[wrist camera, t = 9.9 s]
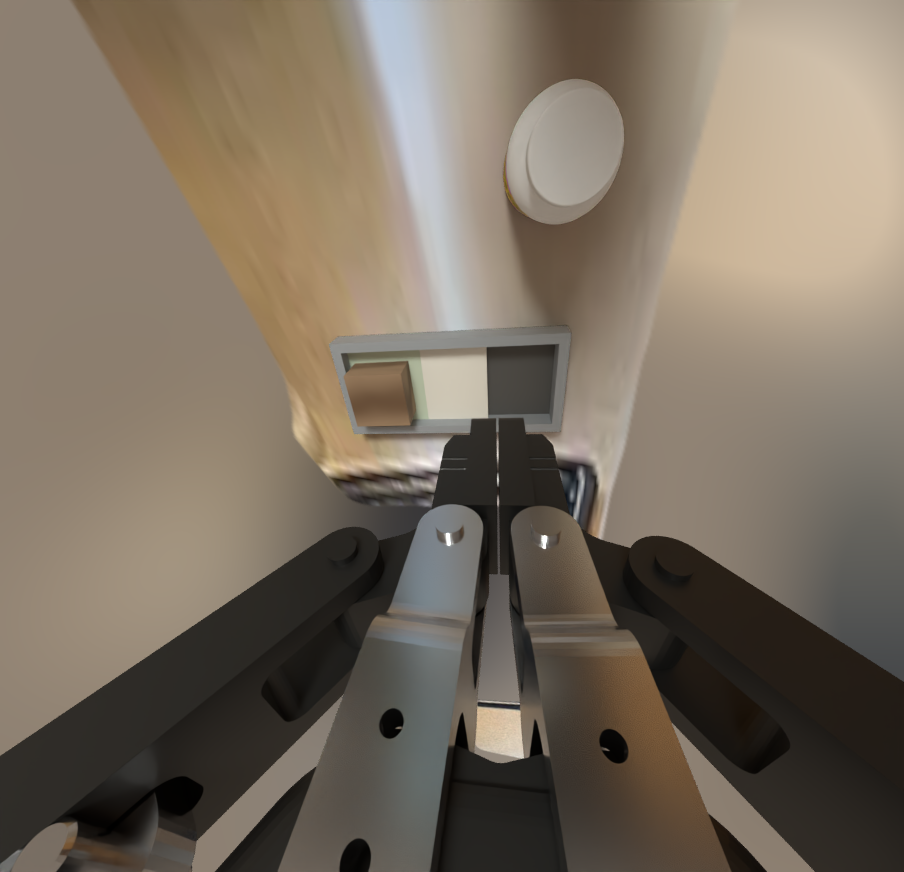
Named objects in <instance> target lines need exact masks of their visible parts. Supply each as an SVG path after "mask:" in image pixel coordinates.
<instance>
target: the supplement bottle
mask: <svg viewBox="0 0 904 872" xmlns="http://www.w3.org/2000/svg"><path fill="white" fill-rule="evenodd" d="M623 148H624V126H623V120H622V117H621V114H620V111H619V109H618V107H617V105H616V103H615V101H614V99H613V98H612V97H611V96H610V94H609V93H608V92H607V91H606V90H605V89H603V88H602V87H601V86H599V85H597V84H596V83H594V82H591V81H588V80H583V79H569V80H565V81H561V82H558V83H555V84H553V85H551V86H550V87H548V88H547V89H545V90H544V91H542V92H541V93H540V94H539V95H538V96H536V97H535V98H534V99H533V100H532V101H531V102H530V104H529V105H528V106H527V107H526V108H525V110H524V111H523V113H522V114H521V116H520V117H519V119H518V121H517V123H516V125H515V128H514V130H513V132H512V135H511V138H510V141H509V145H508V149H507V153H506V156H505V161H504V168H503V181H504V187H505V190H506V194H507V196H508V198H509V200H510V202H511V203H512V205H513V206H514V207H515V208H516V209H517V210H518V211H519V212H520V213H522V214H523V215H525V216H527V217H529V218H531V219H533V220H535V221H538V222H541V223H545V224H553V225H556V224H564V223H568V222H571V221H573V220H576V219H578V218H579V217H581V216H583V215H585V214H586V213H588V212H589V211H590V210H591V209H593V208H594V207H595V206H596V205H597V204H598V203H599V202H600V201H601V199H602V198H603V197H604V196H605V194H606V193H607V192H608V190H609V188H610V187H611V185H612V183H613V181H614V179H615V177H616V175H617V172H618V170H619V166H620V163H621V159H622V155H623Z"/></svg>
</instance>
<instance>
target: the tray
mask: <svg viewBox="0 0 904 872" xmlns="http://www.w3.org/2000/svg"><path fill="white" fill-rule="evenodd" d="M570 342H571V331H570V330H569V328H568V326H567V325H563V326H543V327H523V328H503V329H483V330H462V331H442V332H422V333H402V334H382V335H362V336H342V337H337V338H336V339H335V340H334V341H332V342H331V343H330V344H329V347H330V350H331V354H332V357H333V361H334V364H335V368H336V371H337V375H338V378H339V382H340V386H341V389H342V393H343V396H344V400H345V403H346V407H347V410H348V414H349V418H350V421H351V425H352V428H353V432H354V434H405V433H470V428H471V419H472V418H496V433H497V432H499V425H498V418H524V424H525V431H526V432H561V423H562V414H563V405H564V396H565V387H566V378H567V369H568V360H569V351H570ZM394 361H408V363H409V369H410V375H411V381H412V387H413V393H414V399H415V405H416V412H415V414H414V417H413V419H412V422H411V425H406V426H362V427H358V426H357V423H356V419H355V416H354V412H353V409H352V405H351V402H350V398H349V395H348V391H347V388H346V384H345V381H344V377H343V376H344V375H345V374H346V373H347V372H348V371H349V370H350V368H351V367H352V366H353V365H354V364H355V363H374V362H394Z"/></svg>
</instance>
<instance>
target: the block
mask: <svg viewBox="0 0 904 872" xmlns="http://www.w3.org/2000/svg"><path fill="white" fill-rule="evenodd" d="M343 377H344V381H345V384H346V388H347V391H348V395H349V398H350V402H351V405H352V409H353V412H354V416H355V419H356V423H357V426H358V427H362V426H406V425H411V422H412V419H413V417H414V414H415V412H416V405H415V399H414V393H413V387H412V381H411V375H410V369H409V363H408V361H394V362H374V363H355V364H354V365H353V366H352V367H351V368H350V370H349V371H348V372H347V373H346V374H345V375H344V376H343Z"/></svg>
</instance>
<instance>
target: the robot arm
mask: <svg viewBox="0 0 904 872" xmlns="http://www.w3.org/2000/svg"><path fill="white" fill-rule="evenodd" d="M498 425H499V513H500V514H499V515H500V516H499V517H500V574H505V575H509V590H510V594H509V609H510V618H511V626H512V635H513V644H514V653H515V661H516V670H517V679H518V688H519V697H520V711H521V729H522V741H523V751H524V759H520V760H516V761H512V762H508V763H495V762H492V761H489V760H487V759H485V758H483V757H481V756H479V755H477V754H475V753H474V751H475V740H476V726H477V700H478V687H479V677H480V667H481V657H482V647H483V637H484V627H485V617H486V604H487V599H488V595H489V574H497V573H498V570H497V569H498V568H497V567H498V566H497V442H496V418H472V419H471V428H470V435H454V436H453V437H452V438H451V439H450V440H449V441H448V443H447V444H446V445H445V447H444V452H443V456H442V461H441V466H440V471H439V475H438V480H437V485H436V490H435V495H434V499H433V504H432V509H431V510H430V511H429V512H428V513H426V514H425V515H424V516H423V517H422V519H421V520H420V522H419V524H418V526H417V528H416V529H414V530H412V531H410V532H408V533H406V534H403V535H399V536H396V537H391V538H387V539H384V540H379V541H378V540H377V538H376V536H375V535H374V534H373V533H372V532H371V531H369V530H367V529H365V528H360V527H348V528H343V529H340V530H337V531H335V532H332V533H331V534H329V535H327V536H326V537H324V538H323V539H321V540H320V541H318V542H317V543H316V544H314V545H312V546H311V547H309V548H308V549H307V550H305V551H303V552H302V553H301V554H299V555H298V556H296V557H295V558H293V559H292V560H290V561H289V562H287V563H286V564H284V565H283V566H281V567H280V568H278V569H277V570H275V571H274V572H272V573H271V574H269V575H268V576H266V577H265V578H263V579H262V580H260V581H259V582H257V583H256V584H255V585H253V586H252V587H250V588H249V589H247V590H246V591H244V592H243V593H241V594H240V595H238V596H237V597H235V598H234V599H232V600H231V601H229V602H228V603H226V604H225V605H223V606H222V607H220V608H219V609H218V610H216V611H215V612H213V613H212V614H210V615H209V616H207V617H206V618H204V619H203V620H201V621H200V622H198V623H197V624H195V625H194V626H192V627H191V628H189V629H188V630H186V631H185V632H183V633H182V634H181V635H179V636H177V637H176V638H175V639H173V640H171V641H170V642H169V643H167V644H166V645H164V646H163V647H161V648H160V649H158V650H157V651H155V652H154V653H152V654H151V655H150V656H148V657H146V658H145V659H143V660H142V661H140V662H139V663H137V664H136V665H134V666H133V667H131V668H130V669H128V670H127V671H126V672H124V673H123V674H121V675H120V676H118V677H117V678H115V679H114V680H112V681H111V682H109V683H108V684H106V685H105V686H103V687H102V688H100V689H99V690H97V691H96V692H94V693H93V694H91V695H90V696H89V697H87V698H86V699H84V700H83V701H81V702H80V703H78V704H77V705H75V706H74V707H72V708H71V709H69V710H68V711H66V712H65V713H63V714H62V715H60V716H59V717H58V718H56V719H54V720H53V721H51V722H50V723H48V724H47V725H45V726H44V727H43V728H41V729H39V730H38V731H37V732H35V733H34V734H32V735H31V736H29V737H28V738H26V739H25V740H23V741H22V742H20V743H19V744H17V745H16V746H14V747H13V748H12V749H10V750H8V751H7V752H5V753H4V754H2V755H1V756H0V872H192V862H193V858H194V855H195V849H196V841H197V840H198V839H199V838H200V837H201V836H202V835H203V834H204V833H205V832H206V831H207V830H208V829H209V828H210V827H211V826H212V825H213V824H214V823H215V822H216V821H217V820H218V819H219V818H220V817H221V816H222V815H223V814H224V813H225V812H226V811H227V810H228V809H229V808H230V807H231V806H232V805H233V804H234V803H235V802H236V801H237V800H238V799H239V798H240V797H241V796H242V795H243V794H244V793H245V792H246V791H247V790H248V789H249V788H250V787H251V786H252V785H253V784H254V783H255V782H256V781H257V780H258V779H259V778H260V777H261V776H262V775H263V774H264V773H265V772H266V771H267V770H268V769H269V768H270V767H271V766H272V765H273V764H274V763H275V762H276V761H277V760H278V759H279V758H280V757H281V756H282V755H283V754H284V753H285V752H286V751H287V750H288V749H289V748H290V747H291V746H292V745H293V744H294V743H295V742H296V741H297V740H298V739H299V738H300V737H301V736H302V735H303V734H304V733H305V732H306V731H307V730H308V729H309V728H310V727H311V726H312V725H313V724H314V723H315V722H316V721H317V720H318V719H319V718H320V717H321V716H322V715H323V714H324V713H325V712H326V711H327V710H328V709H329V708H330V707H331V706H332V705H333V704H334V703H335V702H336V701H337V700H338V699H339V698H340V697H341V696H342V695H343V694H344V695H343V697H342V700H341V703H340V705H339V708H338V711H337V713H336V716H335V719H334V722H333V724H332V727H331V730H330V733H329V735H328V738H327V740H326V743H325V746H324V749H323V751H322V754H321V756H320V759H319V762H318V764H317V766H316V767H315V768H314V769H312V770H311V771H310V772H308V773H307V774H306V775H304V776H303V777H302V778H301V779H300V780H299V781H298V782H297V783H295V784H294V786H292V787H291V788H290V789H289V790H288V791H287V792H286V793H285V794H284V795H283V796H282V797H281V798H280V799H279V800H278V801H277V803H276V804H275V805H274V806H273V807H272V808H271V809H270V811H269V812H268V813H267V814H266V815H265V816H264V817H263V818H262V820H261V821H260V822H259V823H258V824H257V825H256V826H255V827H254V828H253V830H252V831H251V832H250V833H249V834H248V835H247V836H246V837H245V839H244V840H243V841H242V842H241V843H240V844H239V845H238V846H237V848H236V849H235V850H234V851H233V852H232V853H231V854H230V855H229V857H228V858H227V859H226V860H225V861H224V862H223V863H222V865H220V867H219V868H218V869H217V870H216V871H215V872H767V871H766V870H765V869H764V868H763V867H762V866H761V865H760V863H759V862H758V861H757V860H756V859H755V858H754V857H753V856H752V854H751V853H750V852H749V851H748V850H747V849H746V848H745V847H744V846H743V845H742V844H741V843H740V842H739V841H738V840H737V839H736V838H735V837H734V836H733V835H732V834H731V833H730V832H729V831H728V830H727V829H726V828H725V827H723V826H722V825H721V824H720V823H719V822H718V821H717V820H715V819H714V818H713V817H712V816H711V815H709V814H708V812H707V810H706V807H705V805H704V803H703V800H702V797H701V795H700V793H699V790H698V787H697V785H696V782H695V780H694V778H693V775H692V773H691V770H690V768H689V765H688V763H687V760H686V758H685V755H684V753H683V750H682V748H681V745H680V743H679V740H678V738H677V735H676V733H675V730H674V728H673V726H672V723H673V724H674V725H675V726H676V727H677V728H678V729H679V730H680V731H681V732H682V734H683V735H685V737H686V738H687V739H688V740H690V742H691V743H692V744H693V745H694V746H695V747H696V748H697V749H698V750H699V751H700V752H701V753H702V754H703V755H704V756H705V758H706V759H707V760H708V761H709V762H710V763H711V764H712V765H713V766H714V767H715V768H716V769H717V770H718V771H719V772H720V773H721V774H722V775H723V776H724V777H725V778H726V779H727V780H728V781H729V783H731V785H732V786H733V787H734V788H735V789H736V790H737V791H738V792H739V793H740V794H741V795H742V796H743V797H744V798H745V799H746V800H747V801H748V802H749V803H750V804H751V805H752V806H753V807H754V809H755V810H756V811H757V812H758V813H759V814H760V815H761V816H762V817H763V818H764V819H765V820H766V821H767V822H768V823H769V824H770V825H771V826H772V827H773V828H774V829H775V830H776V831H777V832H778V834H779V835H780V836H781V837H782V838H783V839H784V840H785V841H786V842H787V843H788V844H789V845H790V846H791V847H792V848H793V849H794V850H795V851H796V852H797V853H798V854H799V855H800V856H801V857H802V858H803V860H805V862H806V863H807V864H808V865H809V866H810V867H811V868H812V869H813V870H814V871H815V872H904V682H903V681H902V680H900V679H898V678H897V677H895V676H894V675H892V674H891V673H889V672H888V671H886V670H884V669H883V668H881V667H879V666H878V665H877V664H875V663H873V662H872V661H870V660H868V659H867V658H866V657H864V656H863V655H861V654H859V653H858V652H856V651H854V650H853V649H852V648H850V647H848V646H847V645H845V644H844V643H842V642H840V641H839V640H837V639H836V638H834V637H833V636H831V635H829V634H828V633H827V632H825V631H823V630H822V629H820V628H819V627H817V626H816V625H814V624H812V623H811V622H809V621H808V620H806V619H805V618H803V617H801V616H800V615H798V614H797V613H795V612H794V611H792V610H791V609H789V608H787V607H786V606H784V605H783V604H781V603H779V602H778V601H776V600H775V599H773V598H772V597H770V596H769V595H767V594H765V593H764V592H762V591H761V590H759V589H757V588H756V587H754V586H753V585H751V584H750V583H748V582H746V581H745V580H744V579H742V578H740V577H739V576H737V575H736V574H734V573H732V572H731V571H729V570H728V569H726V568H724V567H723V566H722V565H720V564H719V563H717V562H715V561H714V560H712V559H711V558H709V557H708V556H706V555H704V554H702V553H701V552H700V551H698V550H696V549H695V548H693V547H692V546H690V545H688V544H686V543H684V542H682V541H679V540H676V539H673V538H669V537H663V536H649V537H645V538H642V539H640V540H638V541H636V542H635V543H634V544H633V545H632V547H631V548H628V547H624V546H621V545H617V544H614V543H610V542H606V541H604V540H601V539H598V538H596V537H594V536H591V535H590V534H588V533H586V532H585V531H584V530H582V529H581V528H580V526H579V524H578V523H577V522H576V520H575V519H574V518H573V517H572V516H570V513H569V510H568V506H567V502H566V498H565V494H564V490H563V485H562V481H561V477H560V473H559V470H558V465H557V461H556V457H555V452H554V448H553V445H552V444H551V443H550V442H549V441H548V440H547V438H546V437H545V436H544V435H543V434H529V435H526V431H525V424H524V418H498ZM671 722H672V723H671Z"/></svg>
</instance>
